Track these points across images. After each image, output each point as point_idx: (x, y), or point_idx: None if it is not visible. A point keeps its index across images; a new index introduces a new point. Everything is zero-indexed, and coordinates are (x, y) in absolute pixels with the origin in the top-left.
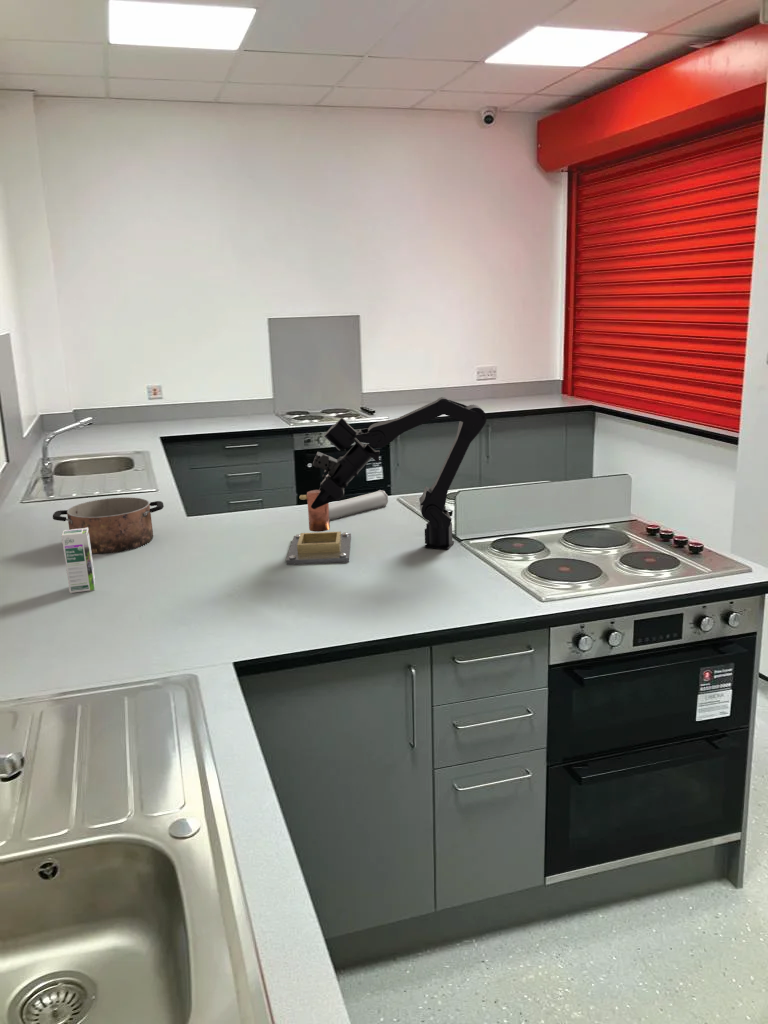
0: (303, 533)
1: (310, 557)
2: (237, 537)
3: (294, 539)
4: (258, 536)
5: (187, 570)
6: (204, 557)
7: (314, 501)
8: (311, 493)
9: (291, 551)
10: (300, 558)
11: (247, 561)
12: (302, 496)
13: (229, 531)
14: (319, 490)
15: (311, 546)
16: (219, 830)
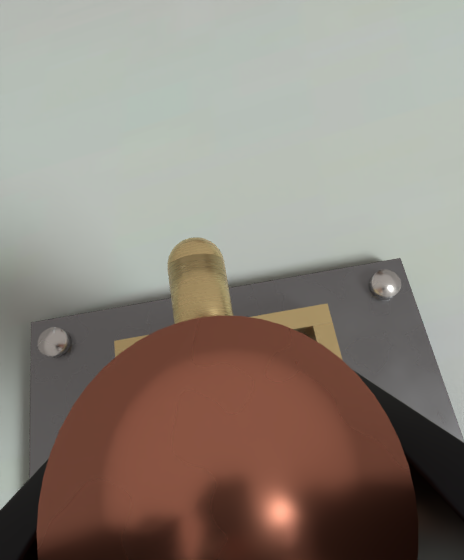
0: (321, 320)
1: (58, 429)
2: (388, 57)
3: (342, 276)
4: (415, 117)
5: (28, 39)
6: (153, 39)
7: (29, 480)
8: (139, 406)
9: (156, 312)
10: (48, 382)
11: (101, 172)
12: (170, 275)
13: (456, 13)
14: (364, 507)
15: None
16: None
